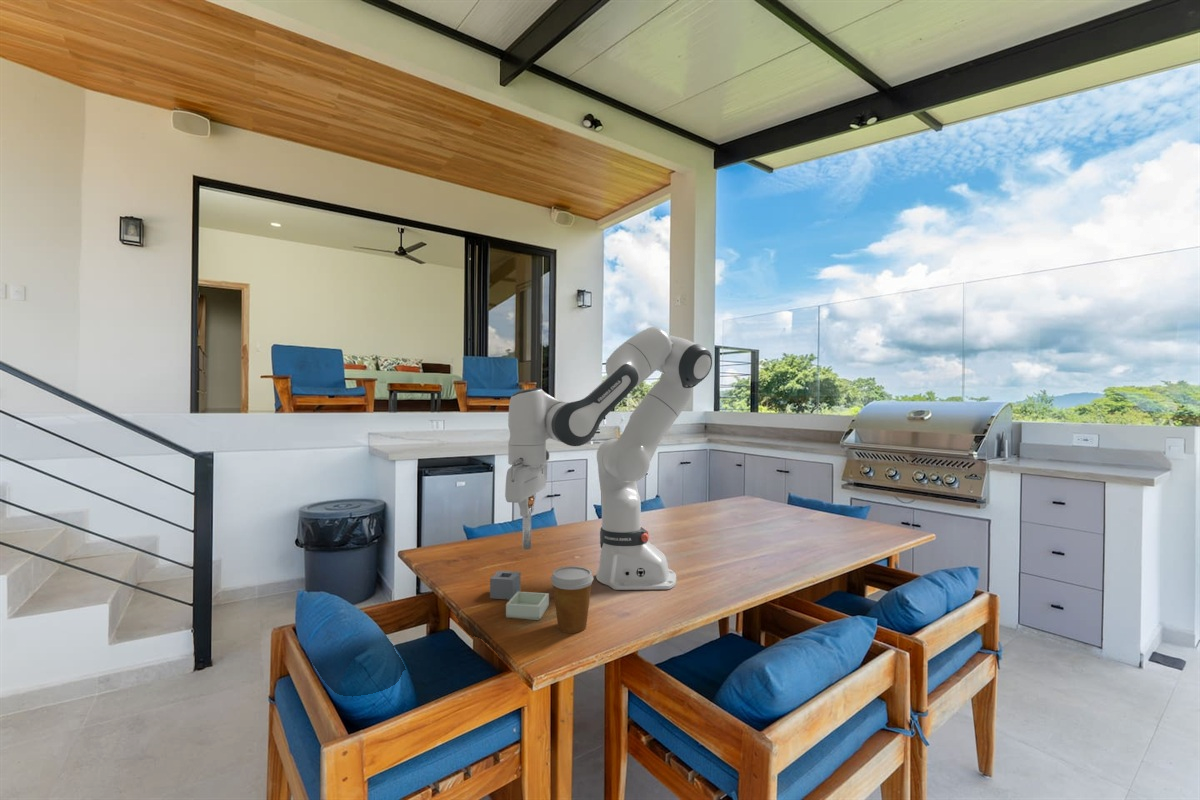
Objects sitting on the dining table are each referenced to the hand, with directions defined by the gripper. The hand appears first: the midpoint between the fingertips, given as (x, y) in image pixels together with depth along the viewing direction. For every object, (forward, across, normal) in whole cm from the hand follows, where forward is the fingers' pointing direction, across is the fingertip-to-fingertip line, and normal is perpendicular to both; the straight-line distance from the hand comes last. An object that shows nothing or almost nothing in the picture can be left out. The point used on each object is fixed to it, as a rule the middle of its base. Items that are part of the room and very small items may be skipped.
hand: (527, 514), depth 119 cm
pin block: (+23, +9, +9) cm, 26 cm away
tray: (+23, 0, 0) cm, 23 cm away
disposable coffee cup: (+23, -6, -12) cm, 27 cm away
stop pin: (+8, 0, 0) cm, 8 cm away
